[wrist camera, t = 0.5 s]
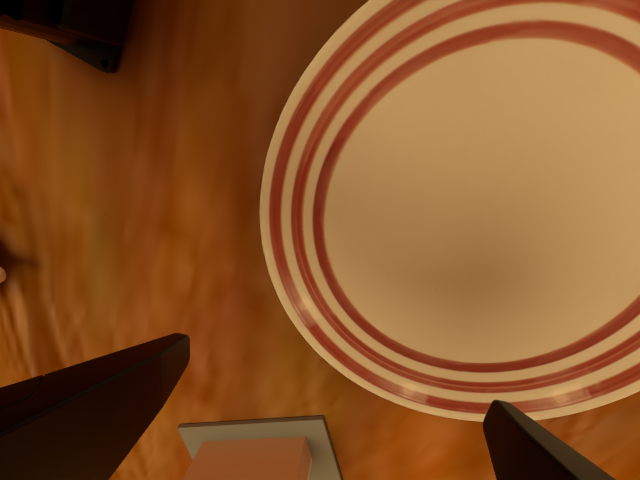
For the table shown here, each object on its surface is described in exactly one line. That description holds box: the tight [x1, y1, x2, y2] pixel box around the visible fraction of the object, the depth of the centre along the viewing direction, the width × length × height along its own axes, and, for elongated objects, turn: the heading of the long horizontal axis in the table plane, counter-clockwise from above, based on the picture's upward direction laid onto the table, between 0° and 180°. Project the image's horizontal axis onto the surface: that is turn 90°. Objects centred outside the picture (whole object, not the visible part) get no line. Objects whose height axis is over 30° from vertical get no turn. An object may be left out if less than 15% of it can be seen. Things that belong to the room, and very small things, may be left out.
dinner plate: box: [260, 0, 640, 422], centre depth 19 cm, size 27×27×3 cm
